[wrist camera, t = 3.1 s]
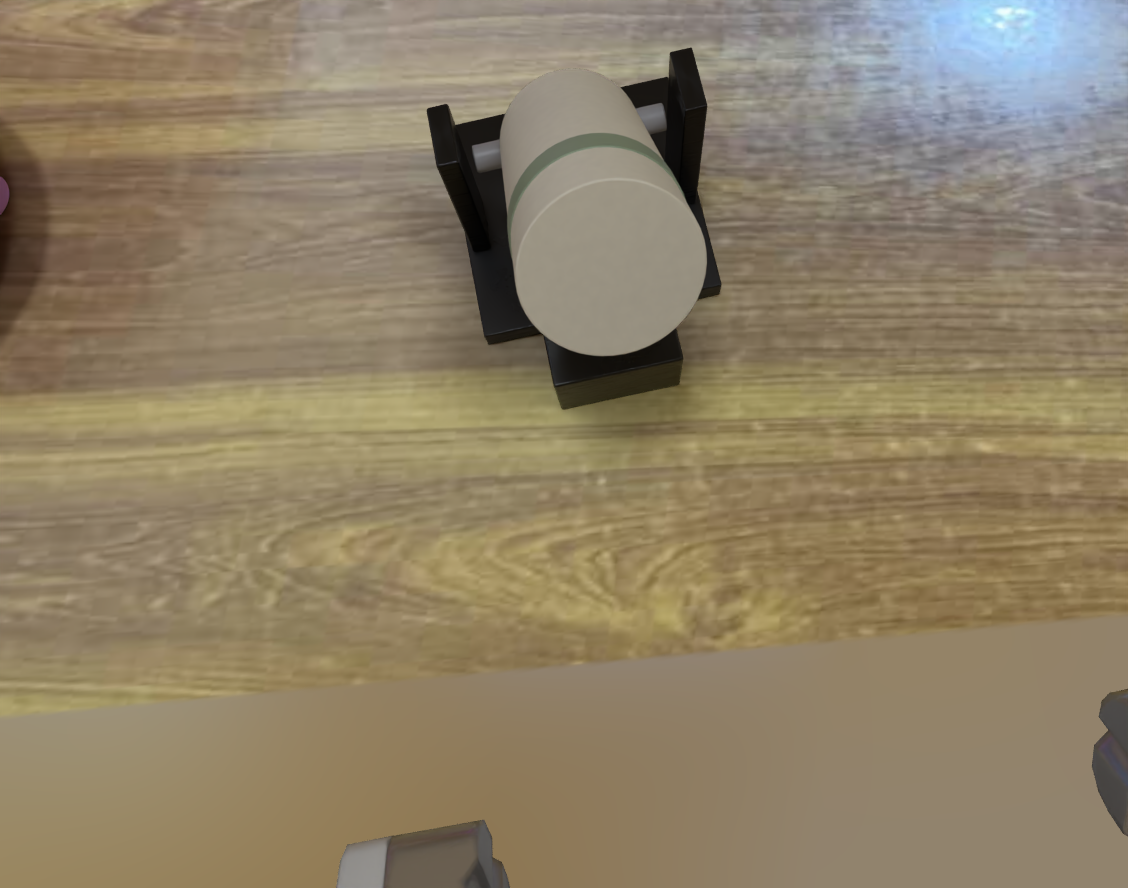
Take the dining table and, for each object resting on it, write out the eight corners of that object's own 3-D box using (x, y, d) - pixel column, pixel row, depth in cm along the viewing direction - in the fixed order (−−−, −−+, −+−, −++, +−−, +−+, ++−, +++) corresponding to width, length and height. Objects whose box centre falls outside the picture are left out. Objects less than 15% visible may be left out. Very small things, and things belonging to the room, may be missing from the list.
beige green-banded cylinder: (750, 329, 26) (736, 146, 22) (503, 383, 26) (455, 210, 23) (670, 180, 35) (652, 38, 32) (491, 220, 35) (456, 83, 32)
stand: (739, 372, 37) (766, 298, 29) (502, 423, 37) (466, 364, 30) (667, 89, 40) (673, -45, 32) (449, 139, 41) (403, 18, 33)
